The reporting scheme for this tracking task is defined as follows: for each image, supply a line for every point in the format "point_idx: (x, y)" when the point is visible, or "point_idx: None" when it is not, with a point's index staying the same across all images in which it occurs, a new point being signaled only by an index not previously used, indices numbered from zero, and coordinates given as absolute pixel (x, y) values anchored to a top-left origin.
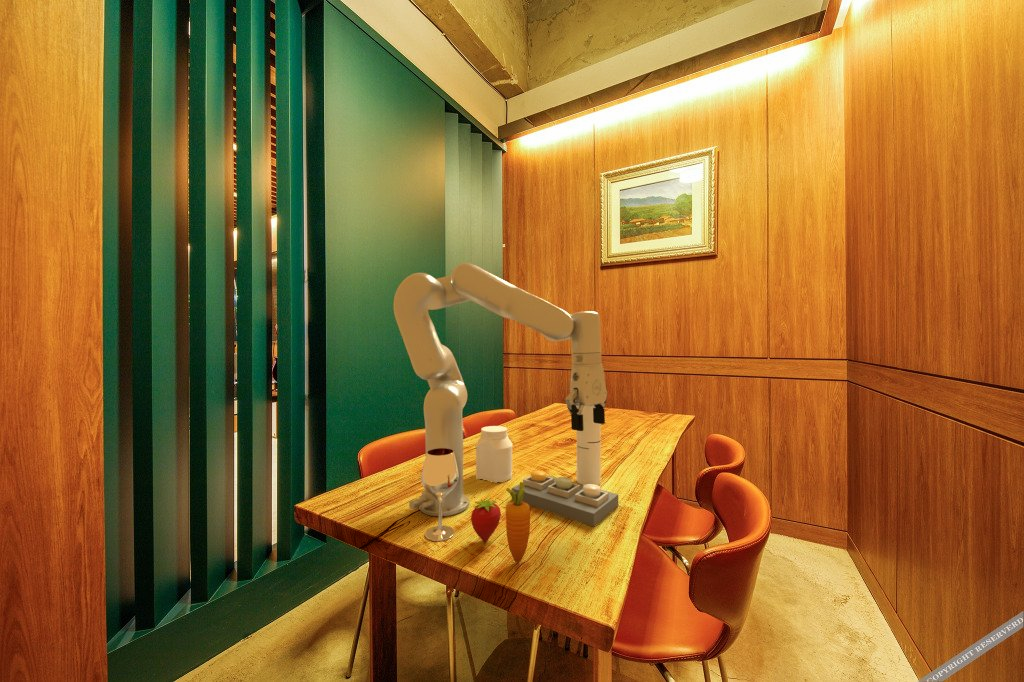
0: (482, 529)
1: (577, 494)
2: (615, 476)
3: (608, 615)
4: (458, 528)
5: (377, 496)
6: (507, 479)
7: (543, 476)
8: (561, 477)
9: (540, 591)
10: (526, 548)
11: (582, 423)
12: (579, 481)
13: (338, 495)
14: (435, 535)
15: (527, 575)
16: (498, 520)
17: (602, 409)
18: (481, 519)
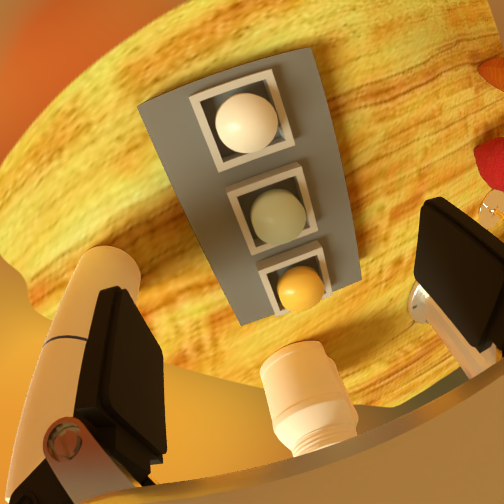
0: None
1: (289, 139)
2: (26, 269)
3: None
4: (473, 209)
5: None
6: (293, 345)
7: (304, 273)
8: (272, 240)
9: (484, 8)
10: (492, 59)
11: (470, 222)
12: (140, 276)
13: None
14: (499, 205)
15: (481, 40)
16: (498, 141)
17: (102, 408)
18: None
